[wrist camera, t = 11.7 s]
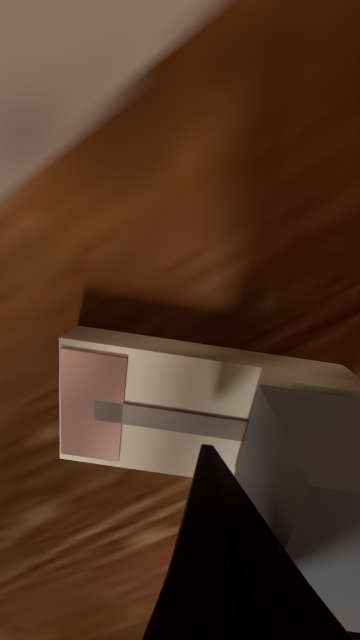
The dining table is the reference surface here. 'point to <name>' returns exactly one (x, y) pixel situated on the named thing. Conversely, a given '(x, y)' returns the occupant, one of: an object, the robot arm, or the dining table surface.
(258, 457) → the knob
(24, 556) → the dining table surface
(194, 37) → the dining table surface
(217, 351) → the cream flat rectangular block
